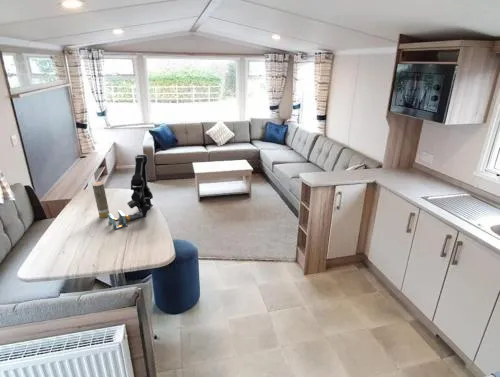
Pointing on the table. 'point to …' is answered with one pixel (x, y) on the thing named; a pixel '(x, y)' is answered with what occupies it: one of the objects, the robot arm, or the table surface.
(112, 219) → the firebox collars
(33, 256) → the table surface
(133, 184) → the robot arm
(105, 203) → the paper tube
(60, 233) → the table surface
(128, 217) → the tube
